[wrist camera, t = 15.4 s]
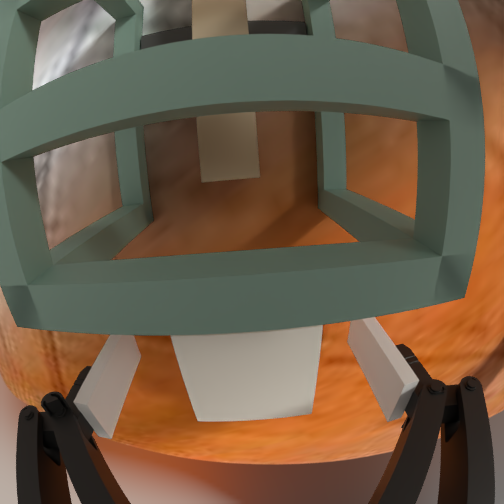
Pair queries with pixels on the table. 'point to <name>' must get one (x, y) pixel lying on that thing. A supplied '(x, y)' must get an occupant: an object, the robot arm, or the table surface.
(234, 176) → the mallet
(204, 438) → the table surface
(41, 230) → the tube cage
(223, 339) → the block
